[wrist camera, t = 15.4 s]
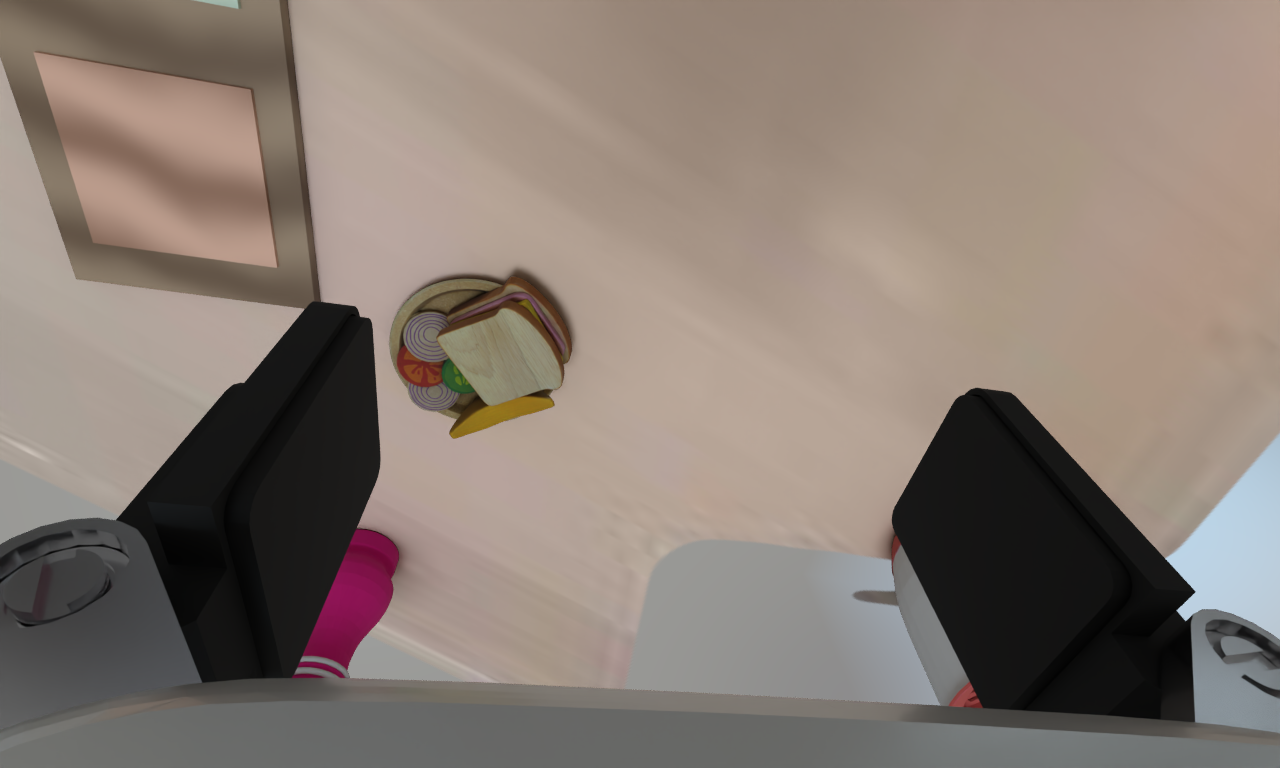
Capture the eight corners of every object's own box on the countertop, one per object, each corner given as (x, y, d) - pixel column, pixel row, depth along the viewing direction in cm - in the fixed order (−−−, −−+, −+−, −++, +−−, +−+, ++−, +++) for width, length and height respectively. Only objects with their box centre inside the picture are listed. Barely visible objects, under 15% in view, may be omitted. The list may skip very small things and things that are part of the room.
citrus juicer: (837, 587, 66) (915, 800, 50) (915, 463, 57) (1044, 675, 40) (970, 603, 69) (1086, 810, 52) (1066, 487, 59) (1244, 695, 43)
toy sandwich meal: (360, 301, 45) (337, 335, 41) (537, 245, 44) (530, 274, 40) (442, 431, 52) (429, 470, 48) (597, 386, 51) (597, 423, 47)
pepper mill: (308, 534, 58) (191, 767, 41) (381, 517, 57) (292, 748, 41) (349, 583, 62) (257, 813, 45) (418, 567, 61) (350, 796, 45)
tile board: (-156, -462, 25) (-190, -480, 24) (247, -355, 27) (233, -368, 26) (86, 272, 43) (73, 281, 42) (320, 303, 45) (313, 312, 44)
